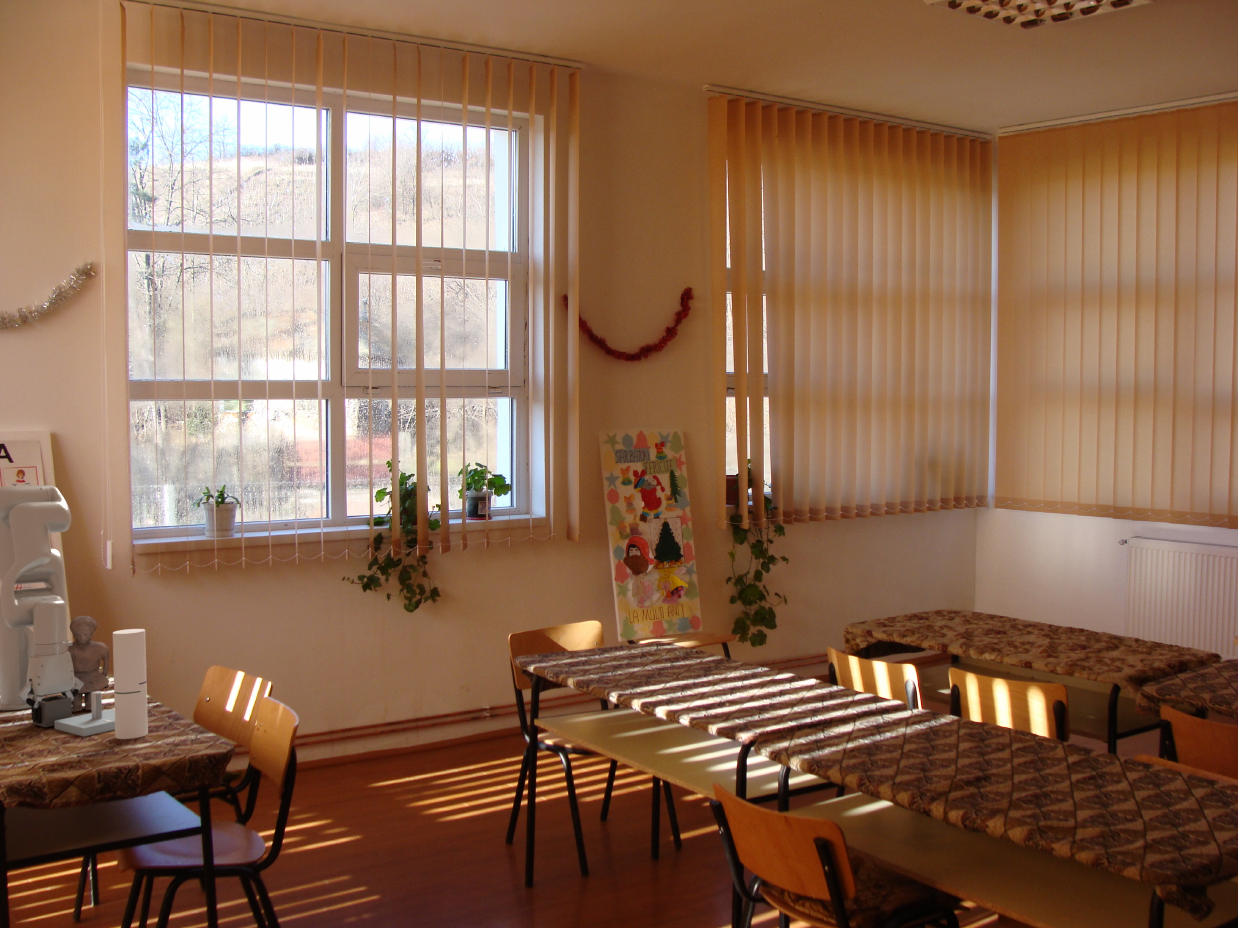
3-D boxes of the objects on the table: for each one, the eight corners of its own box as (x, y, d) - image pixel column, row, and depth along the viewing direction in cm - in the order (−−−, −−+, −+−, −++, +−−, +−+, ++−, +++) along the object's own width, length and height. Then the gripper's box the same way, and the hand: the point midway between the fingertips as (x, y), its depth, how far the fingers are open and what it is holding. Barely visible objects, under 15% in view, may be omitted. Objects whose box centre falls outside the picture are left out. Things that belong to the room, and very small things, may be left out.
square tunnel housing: (32, 723, 269) (31, 699, 269) (58, 717, 275) (58, 693, 275) (45, 727, 265) (44, 702, 265) (71, 721, 271) (71, 697, 271)
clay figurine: (55, 716, 279) (53, 620, 279) (57, 708, 288) (54, 615, 287) (110, 709, 284) (108, 616, 284) (110, 702, 293) (108, 611, 293)
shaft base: (54, 728, 265) (53, 694, 265) (109, 716, 276) (108, 684, 276) (83, 736, 257) (82, 701, 257) (139, 723, 268) (138, 689, 268)
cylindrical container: (154, 732, 259) (151, 629, 259) (132, 739, 253) (129, 634, 252) (131, 730, 262) (128, 628, 262) (108, 737, 255) (105, 633, 255)
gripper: (77, 641, 279) (78, 710, 279) (7, 652, 265) (9, 724, 265) (92, 644, 274) (93, 714, 275) (22, 656, 260) (23, 729, 261)
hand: (52, 718), depth 270 cm, fingers closed on square tunnel housing, 6 cm apart
